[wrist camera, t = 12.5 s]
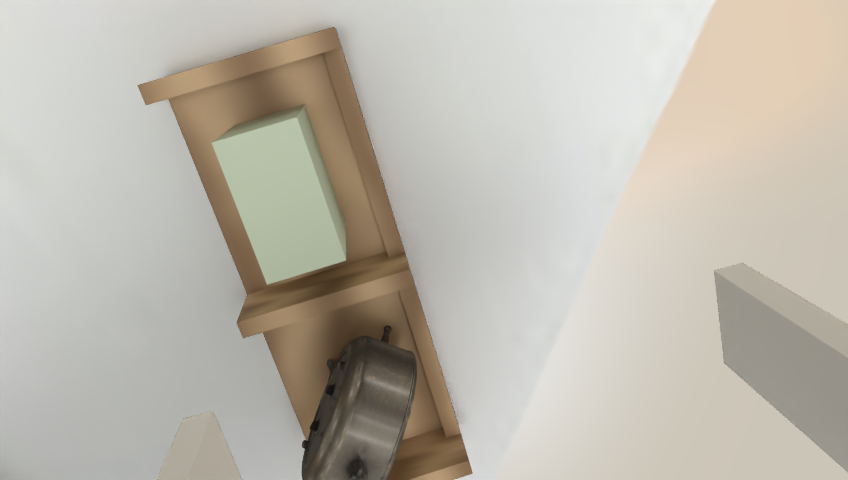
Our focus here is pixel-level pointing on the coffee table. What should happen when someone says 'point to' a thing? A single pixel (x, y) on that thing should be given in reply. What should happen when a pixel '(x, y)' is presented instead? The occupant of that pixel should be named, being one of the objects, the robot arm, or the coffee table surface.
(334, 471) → the alarm clock
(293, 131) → the sage block
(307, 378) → the wooden rack
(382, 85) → the coffee table surface
